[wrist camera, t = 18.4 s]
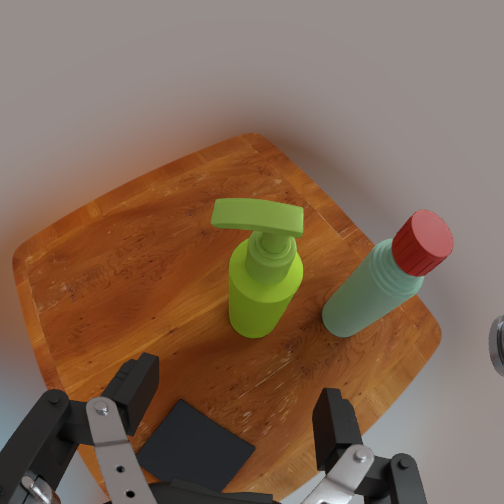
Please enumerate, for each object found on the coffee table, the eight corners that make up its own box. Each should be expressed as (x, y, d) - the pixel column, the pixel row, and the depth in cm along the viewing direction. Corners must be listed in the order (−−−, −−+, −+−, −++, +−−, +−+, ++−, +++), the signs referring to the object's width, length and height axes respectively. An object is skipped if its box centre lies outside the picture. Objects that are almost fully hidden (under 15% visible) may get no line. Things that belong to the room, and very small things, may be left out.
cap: (410, 285, 19) (434, 266, 16) (381, 242, 21) (401, 217, 18) (438, 265, 20) (461, 245, 17) (412, 226, 22) (431, 203, 19)
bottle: (367, 306, 36) (456, 228, 19) (353, 344, 33) (452, 285, 16) (331, 288, 37) (402, 195, 20) (315, 325, 34) (390, 249, 17)
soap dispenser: (223, 287, 36) (221, 170, 18) (279, 294, 36) (327, 185, 18) (216, 333, 33) (202, 249, 15) (275, 340, 33) (331, 266, 15)
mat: (255, 447, 26) (256, 448, 26) (206, 507, 22) (206, 509, 22) (181, 398, 29) (180, 398, 28) (133, 458, 24) (132, 459, 24)
